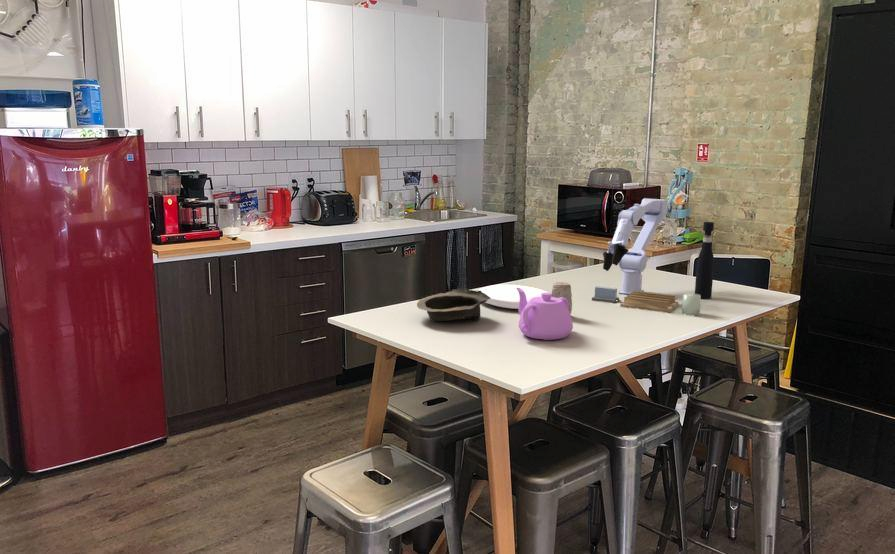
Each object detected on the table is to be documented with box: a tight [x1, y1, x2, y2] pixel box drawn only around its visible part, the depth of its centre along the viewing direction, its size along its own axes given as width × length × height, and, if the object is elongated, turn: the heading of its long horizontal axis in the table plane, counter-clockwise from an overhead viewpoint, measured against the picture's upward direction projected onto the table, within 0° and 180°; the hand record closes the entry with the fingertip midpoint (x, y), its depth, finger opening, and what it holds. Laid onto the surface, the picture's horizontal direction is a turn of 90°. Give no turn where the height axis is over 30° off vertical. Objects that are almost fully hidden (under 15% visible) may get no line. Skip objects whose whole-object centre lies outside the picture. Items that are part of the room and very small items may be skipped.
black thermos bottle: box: [694, 221, 715, 300], centre depth 284 cm, size 6×6×30 cm
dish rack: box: [619, 291, 679, 313], centre depth 272 cm, size 15×18×4 cm
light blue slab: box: [594, 285, 618, 300], centre depth 280 cm, size 2×8×5 cm, turn 61°
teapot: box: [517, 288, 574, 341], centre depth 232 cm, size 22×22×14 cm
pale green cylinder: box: [681, 292, 702, 316], centre depth 260 cm, size 6×6×7 cm
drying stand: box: [591, 296, 620, 304], centre depth 281 cm, size 6×9×1 cm
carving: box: [551, 281, 573, 315], centre depth 254 cm, size 6×8×12 cm
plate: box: [477, 284, 549, 310], centre depth 273 cm, size 28×6×27 cm
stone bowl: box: [416, 288, 490, 322], centre depth 249 cm, size 25×25×9 cm
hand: (609, 266), depth 275 cm, fingers open, 7 cm apart
